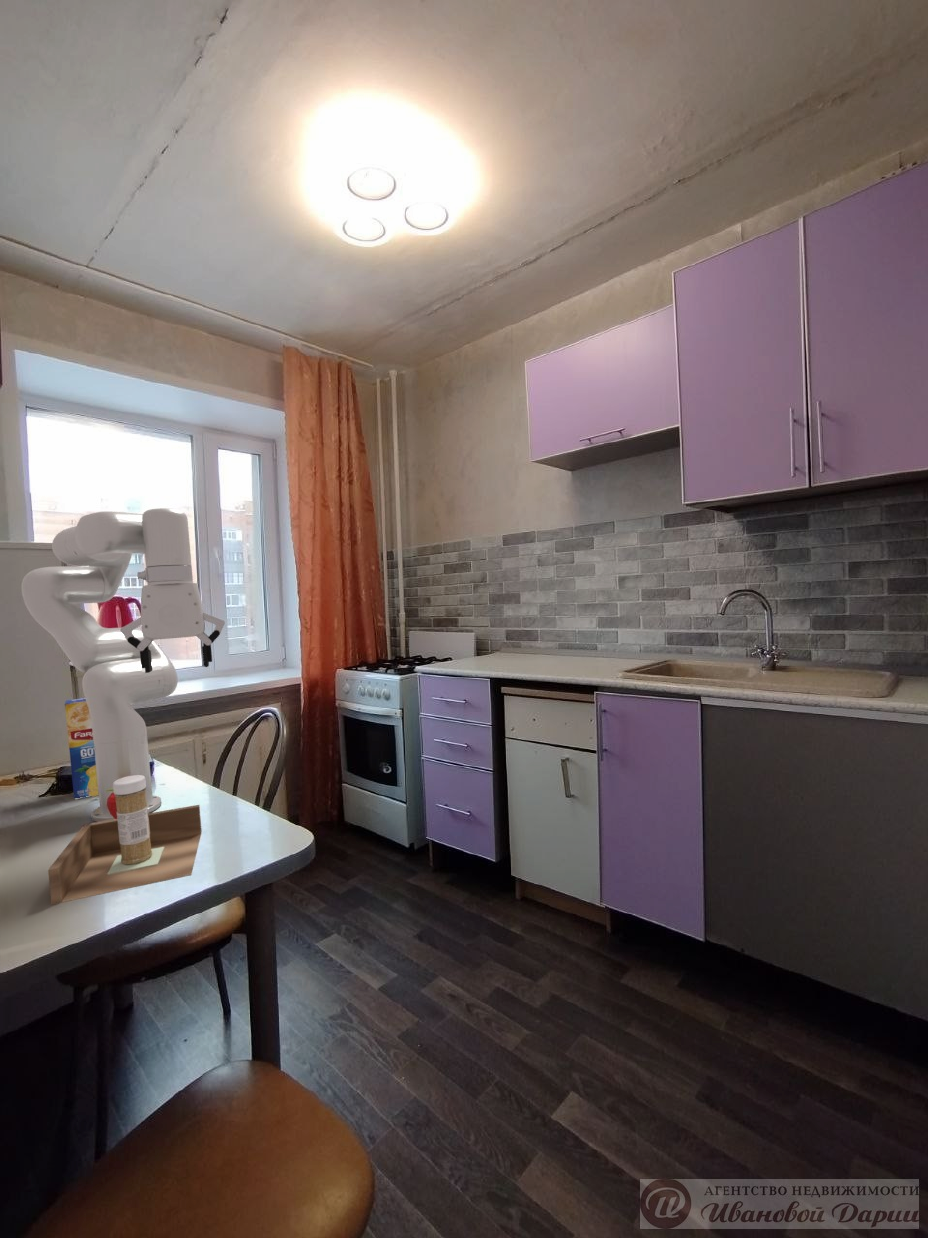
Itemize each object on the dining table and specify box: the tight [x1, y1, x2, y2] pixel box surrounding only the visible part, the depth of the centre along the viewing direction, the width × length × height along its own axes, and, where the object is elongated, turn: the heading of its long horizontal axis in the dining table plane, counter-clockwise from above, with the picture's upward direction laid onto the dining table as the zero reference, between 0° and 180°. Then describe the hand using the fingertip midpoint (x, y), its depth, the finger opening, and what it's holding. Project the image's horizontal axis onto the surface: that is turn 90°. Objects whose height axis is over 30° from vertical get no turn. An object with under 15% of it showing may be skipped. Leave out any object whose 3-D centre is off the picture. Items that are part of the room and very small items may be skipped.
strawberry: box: [106, 778, 119, 819], centre depth 109 cm, size 6×8×10 cm
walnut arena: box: [47, 804, 203, 905], centre depth 92 cm, size 18×18×6 cm
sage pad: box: [107, 847, 164, 875], centre depth 93 cm, size 7×7×1 cm
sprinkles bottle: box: [113, 775, 152, 864], centre depth 93 cm, size 5×5×13 cm
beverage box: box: [64, 697, 99, 799], centre depth 134 cm, size 7×11×22 cm, turn 123°
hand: (178, 669), depth 105 cm, fingers open, 9 cm apart
